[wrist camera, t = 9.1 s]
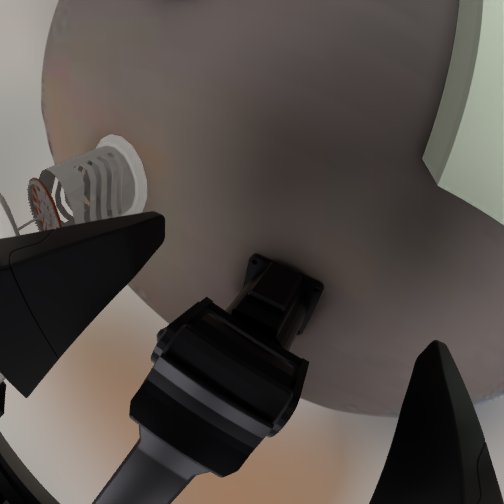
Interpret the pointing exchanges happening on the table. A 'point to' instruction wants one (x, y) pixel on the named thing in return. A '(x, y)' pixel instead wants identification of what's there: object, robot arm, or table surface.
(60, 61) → the table surface
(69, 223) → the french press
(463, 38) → the pale green square tray
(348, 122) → the table surface
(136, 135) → the table surface
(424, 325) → the table surface
